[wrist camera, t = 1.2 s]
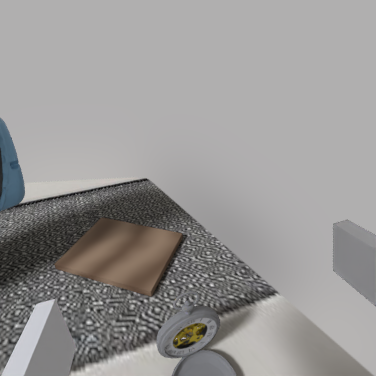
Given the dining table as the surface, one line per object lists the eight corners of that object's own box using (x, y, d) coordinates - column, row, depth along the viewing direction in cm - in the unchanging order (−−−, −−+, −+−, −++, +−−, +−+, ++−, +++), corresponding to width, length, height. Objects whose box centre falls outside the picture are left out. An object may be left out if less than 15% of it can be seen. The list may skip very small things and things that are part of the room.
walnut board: (56, 268, 40) (54, 264, 39) (102, 221, 50) (101, 217, 49) (151, 296, 35) (150, 291, 35) (182, 238, 45) (182, 233, 44)
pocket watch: (218, 455, 22) (220, 401, 17) (142, 389, 26) (126, 330, 21) (256, 365, 28) (266, 304, 22) (189, 323, 32) (185, 264, 27)
